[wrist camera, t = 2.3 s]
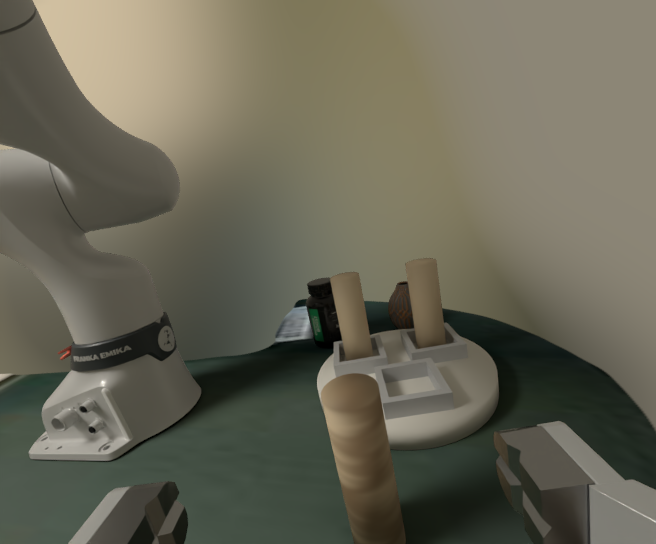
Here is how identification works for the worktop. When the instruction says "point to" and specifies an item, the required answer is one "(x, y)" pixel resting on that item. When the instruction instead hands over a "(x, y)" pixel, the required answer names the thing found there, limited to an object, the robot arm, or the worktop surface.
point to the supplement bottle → (323, 313)
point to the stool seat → (415, 365)
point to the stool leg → (363, 458)
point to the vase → (401, 307)
